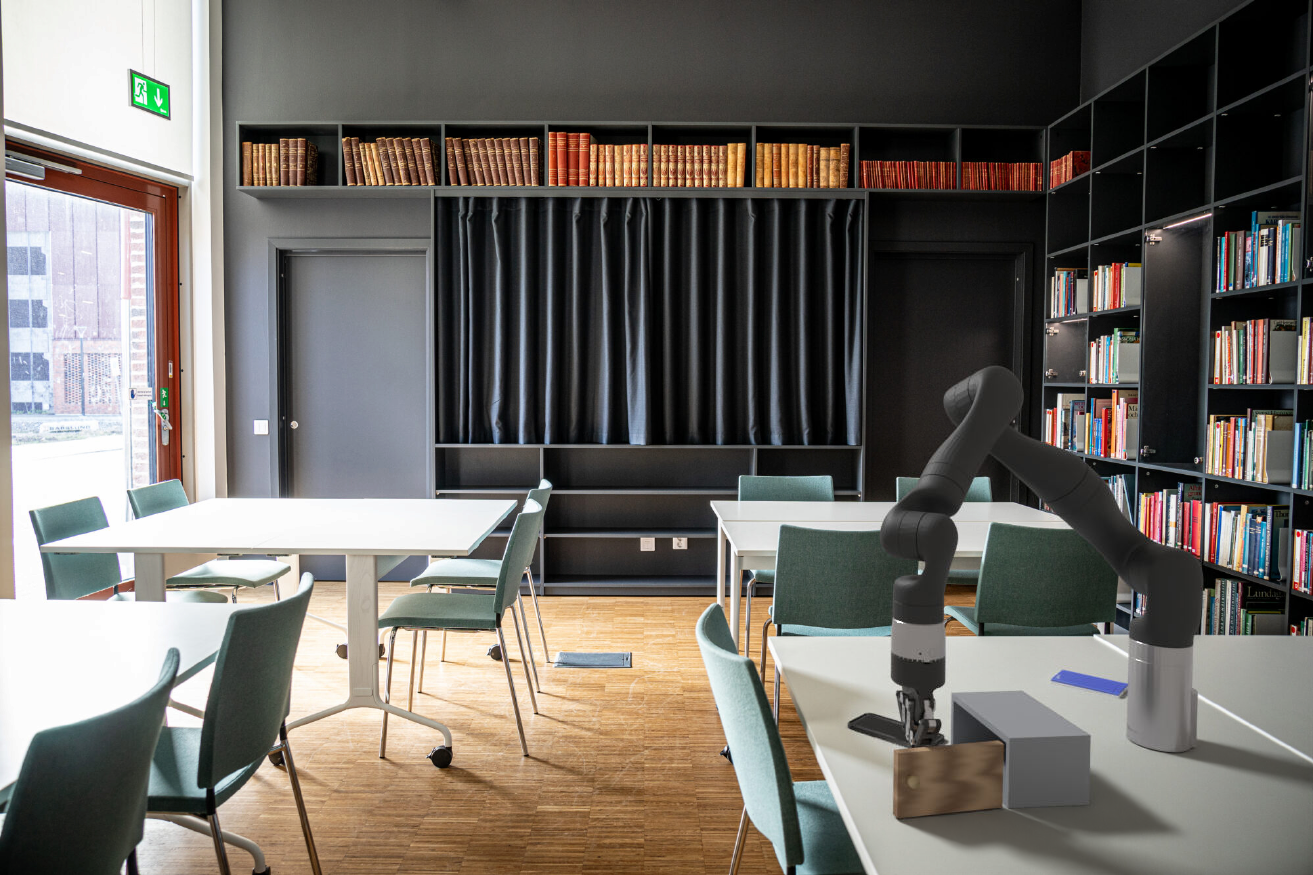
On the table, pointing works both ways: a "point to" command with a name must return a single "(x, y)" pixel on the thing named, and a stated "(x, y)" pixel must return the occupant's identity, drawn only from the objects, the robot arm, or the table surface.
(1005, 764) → the storage box
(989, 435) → the robot arm
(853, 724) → the phone
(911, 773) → the door
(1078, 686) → the hard drive
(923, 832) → the table surface
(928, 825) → the table surface
